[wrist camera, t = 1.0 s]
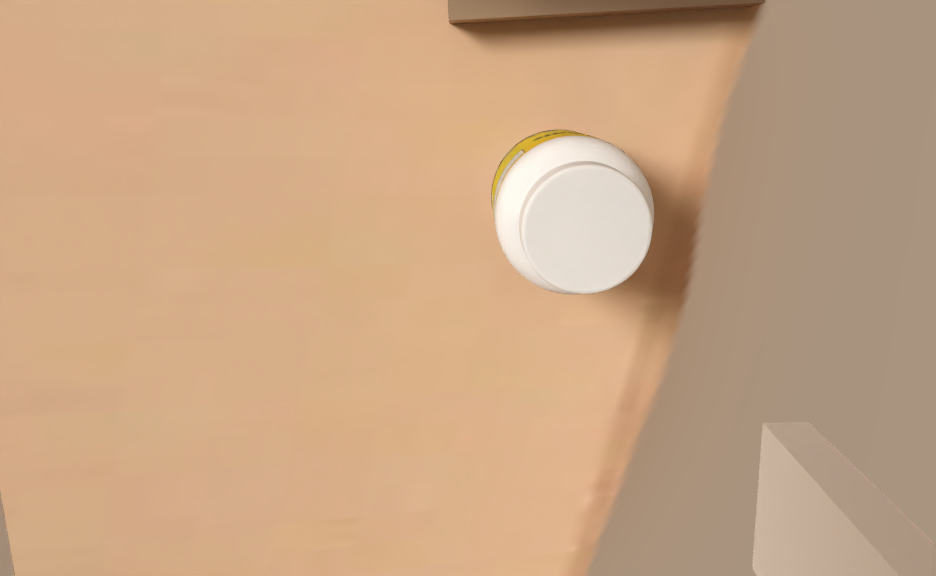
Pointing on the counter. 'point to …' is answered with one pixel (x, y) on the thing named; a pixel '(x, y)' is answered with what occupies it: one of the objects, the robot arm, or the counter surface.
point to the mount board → (573, 8)
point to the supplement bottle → (572, 212)
